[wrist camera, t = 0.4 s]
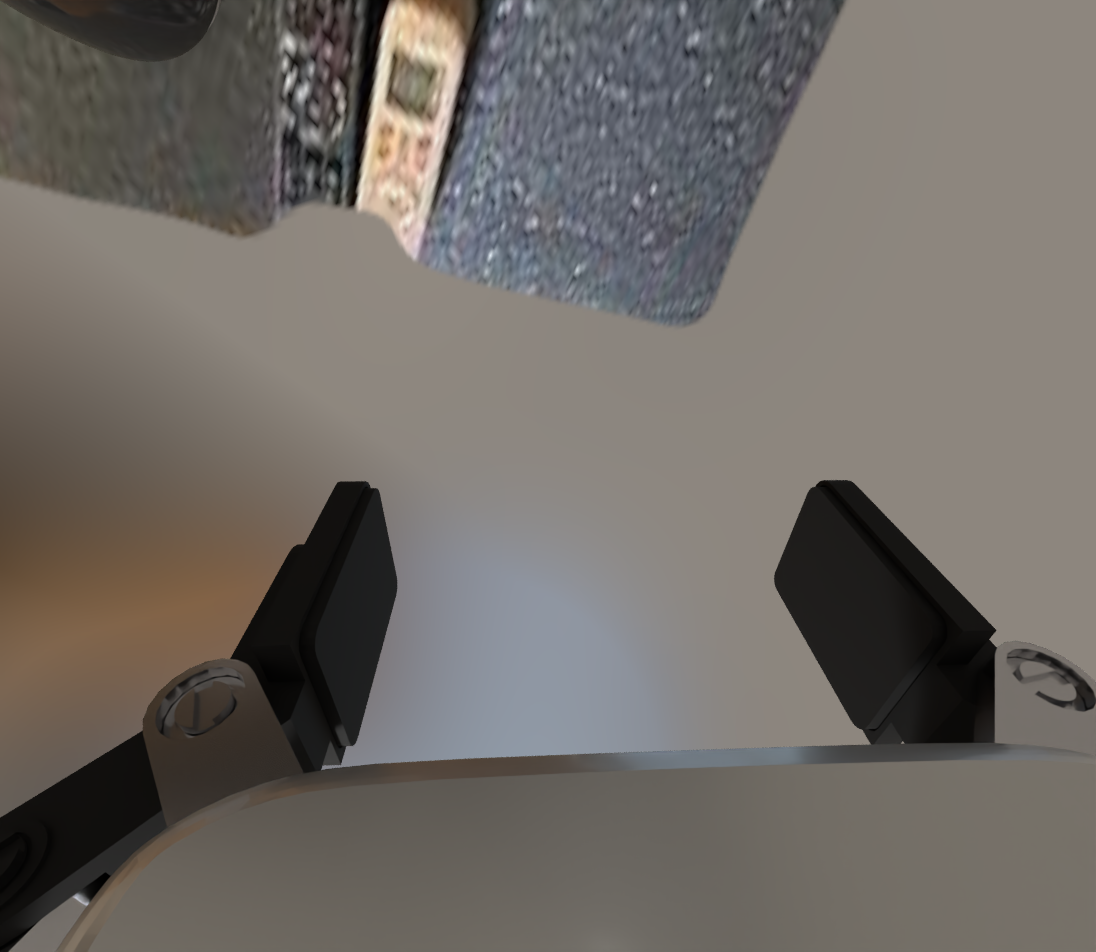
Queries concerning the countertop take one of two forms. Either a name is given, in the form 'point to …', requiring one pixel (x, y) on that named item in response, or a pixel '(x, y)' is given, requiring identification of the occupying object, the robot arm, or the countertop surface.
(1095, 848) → the robot arm
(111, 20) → the pump dispenser
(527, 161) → the countertop surface
